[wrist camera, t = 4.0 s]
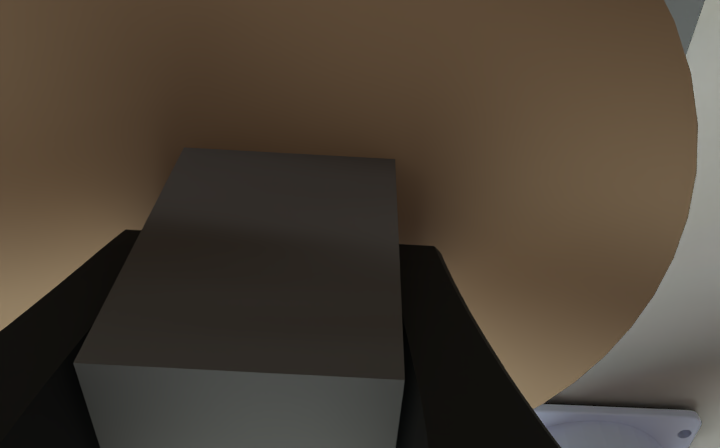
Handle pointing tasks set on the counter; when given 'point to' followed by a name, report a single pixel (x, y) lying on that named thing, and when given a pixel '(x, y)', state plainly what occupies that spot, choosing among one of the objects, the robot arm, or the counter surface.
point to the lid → (335, 195)
